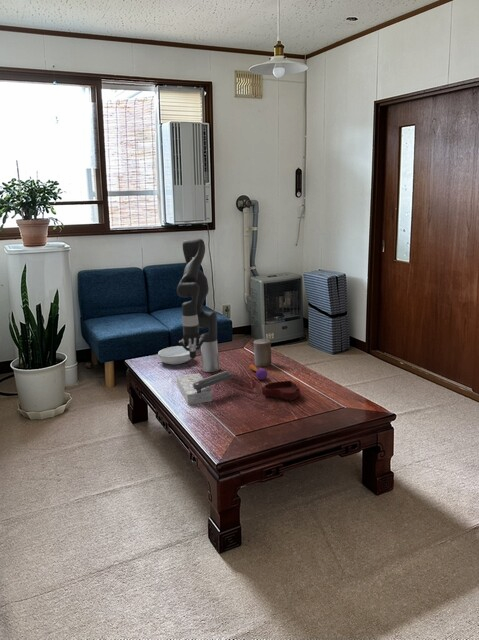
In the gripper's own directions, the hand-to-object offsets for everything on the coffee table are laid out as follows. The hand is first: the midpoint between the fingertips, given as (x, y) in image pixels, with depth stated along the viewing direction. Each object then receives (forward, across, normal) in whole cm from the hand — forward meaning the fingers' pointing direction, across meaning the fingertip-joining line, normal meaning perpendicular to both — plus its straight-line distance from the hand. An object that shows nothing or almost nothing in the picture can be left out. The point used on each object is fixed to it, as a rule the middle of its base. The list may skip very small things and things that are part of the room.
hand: (192, 358), depth 271 cm
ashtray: (+20, -40, +17) cm, 48 cm away
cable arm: (+12, -8, +5) cm, 15 cm away
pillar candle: (+19, -46, -31) cm, 59 cm away
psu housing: (+19, 0, -3) cm, 19 cm away
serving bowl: (+19, -1, -56) cm, 59 cm away
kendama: (+20, -38, -15) cm, 45 cm away
